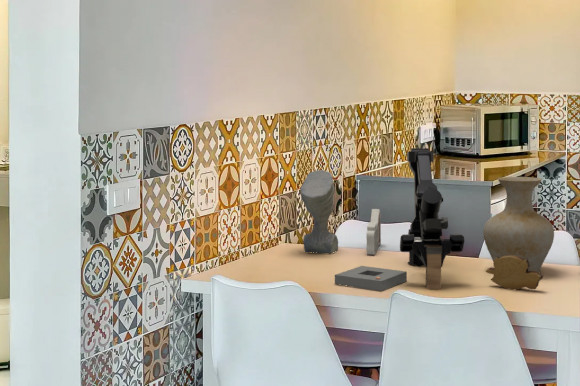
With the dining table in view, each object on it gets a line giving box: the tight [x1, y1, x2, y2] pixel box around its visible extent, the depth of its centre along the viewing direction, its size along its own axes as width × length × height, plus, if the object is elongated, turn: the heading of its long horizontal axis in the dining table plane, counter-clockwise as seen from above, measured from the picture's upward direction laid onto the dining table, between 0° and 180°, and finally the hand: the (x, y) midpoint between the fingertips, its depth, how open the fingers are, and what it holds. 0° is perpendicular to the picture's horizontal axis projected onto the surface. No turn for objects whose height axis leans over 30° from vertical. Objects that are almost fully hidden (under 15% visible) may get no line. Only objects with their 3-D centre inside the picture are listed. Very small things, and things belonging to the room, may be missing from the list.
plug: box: [425, 245, 442, 290], centre depth 248 cm, size 4×4×12 cm
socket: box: [334, 265, 408, 292], centre depth 256 cm, size 16×16×3 cm
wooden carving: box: [485, 255, 544, 290], centre depth 246 cm, size 16×5×10 cm, turn 61°
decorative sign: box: [366, 208, 382, 256], centre depth 309 cm, size 23×3×15 cm, turn 168°
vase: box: [482, 176, 555, 274], centre depth 268 cm, size 22×22×30 cm
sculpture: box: [300, 169, 339, 254], centre depth 304 cm, size 12×23×30 cm, turn 170°
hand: (434, 266), depth 247 cm, fingers closed on plug, 4 cm apart
